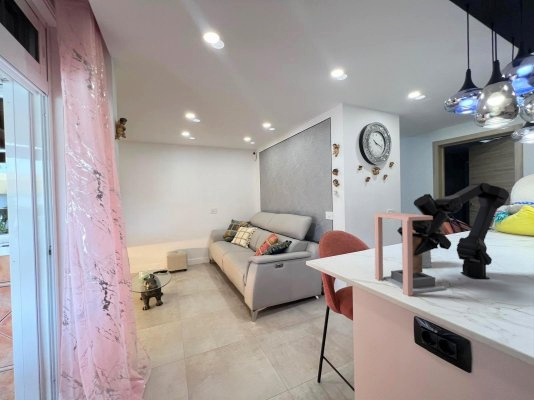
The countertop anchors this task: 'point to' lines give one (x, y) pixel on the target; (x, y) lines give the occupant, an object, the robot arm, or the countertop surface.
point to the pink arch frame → (407, 246)
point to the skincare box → (426, 259)
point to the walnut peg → (416, 259)
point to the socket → (415, 281)
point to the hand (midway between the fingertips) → (409, 253)
